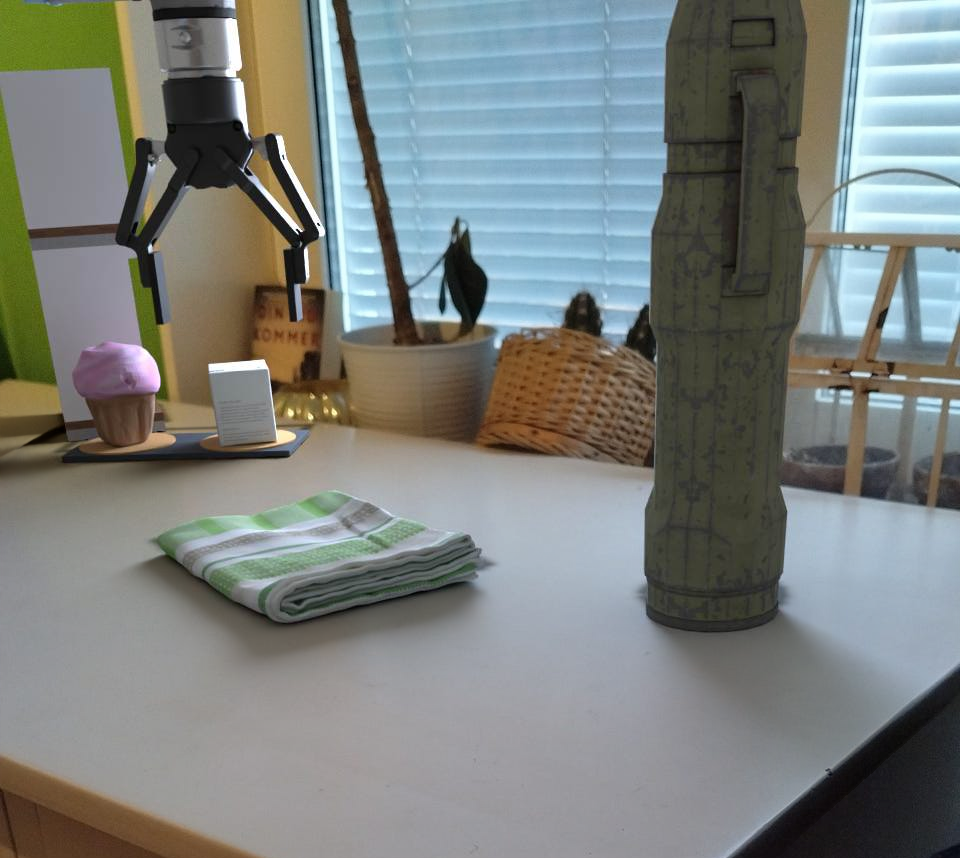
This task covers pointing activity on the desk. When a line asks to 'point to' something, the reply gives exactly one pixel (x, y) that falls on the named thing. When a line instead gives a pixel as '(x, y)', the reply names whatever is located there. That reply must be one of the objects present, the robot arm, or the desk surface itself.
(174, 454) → the placemat
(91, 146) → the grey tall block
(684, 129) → the thermos
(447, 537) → the dish towel
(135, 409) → the cupcake
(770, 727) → the desk surface
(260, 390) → the product carton
